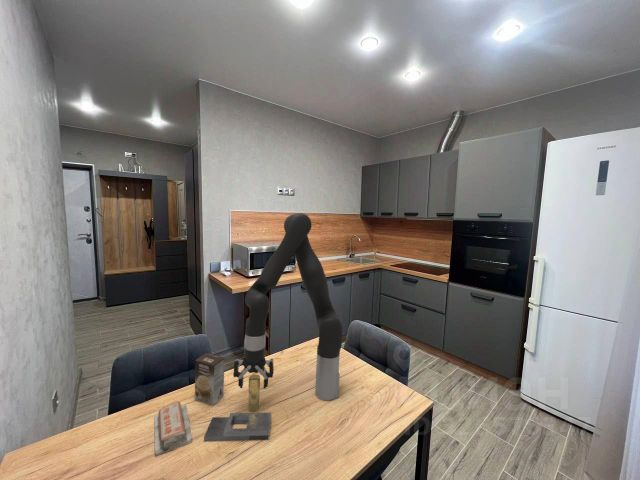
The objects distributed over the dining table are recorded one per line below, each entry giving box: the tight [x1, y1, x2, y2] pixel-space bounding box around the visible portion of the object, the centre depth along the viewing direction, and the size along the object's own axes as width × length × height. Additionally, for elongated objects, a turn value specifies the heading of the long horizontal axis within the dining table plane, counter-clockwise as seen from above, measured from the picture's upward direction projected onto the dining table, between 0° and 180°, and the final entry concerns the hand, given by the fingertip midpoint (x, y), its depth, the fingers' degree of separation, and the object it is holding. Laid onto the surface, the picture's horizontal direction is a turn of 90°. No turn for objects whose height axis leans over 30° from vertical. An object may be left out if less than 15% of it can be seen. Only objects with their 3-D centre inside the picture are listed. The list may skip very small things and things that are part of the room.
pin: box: [247, 373, 261, 413], centre depth 97 cm, size 4×4×12 cm
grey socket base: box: [203, 412, 272, 442], centre depth 87 cm, size 20×8×3 cm, turn 94°
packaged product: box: [154, 401, 193, 457], centre depth 86 cm, size 18×5×10 cm
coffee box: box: [194, 352, 225, 407], centre depth 101 cm, size 9×6×16 cm
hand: (253, 387), depth 97 cm, fingers open, 8 cm apart
